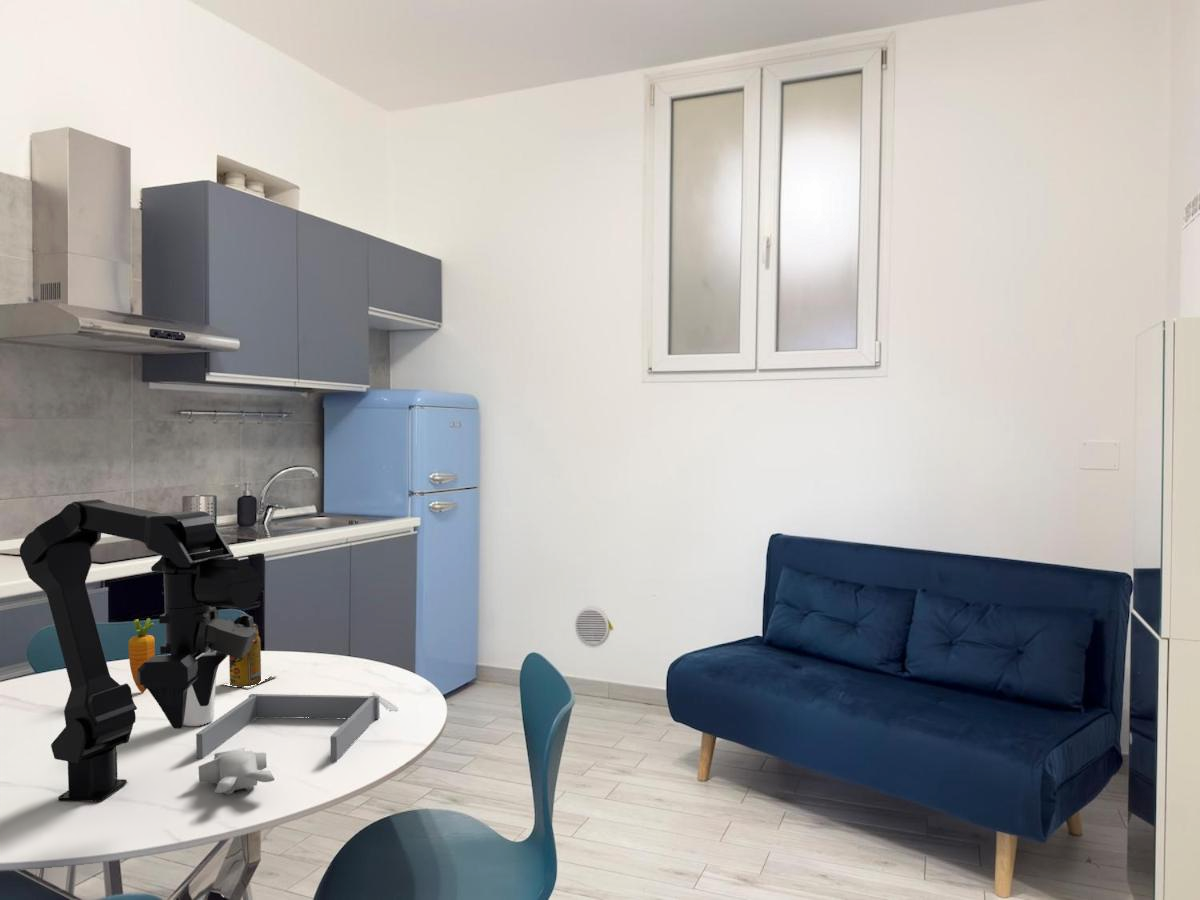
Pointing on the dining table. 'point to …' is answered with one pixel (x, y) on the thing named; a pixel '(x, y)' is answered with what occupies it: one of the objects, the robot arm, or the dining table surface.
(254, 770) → the white rounded figure
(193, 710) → the drinking glass
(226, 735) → the grey u-shaped fence
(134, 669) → the carrot
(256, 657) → the condiment
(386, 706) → the butter knife
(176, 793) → the dining table surface
